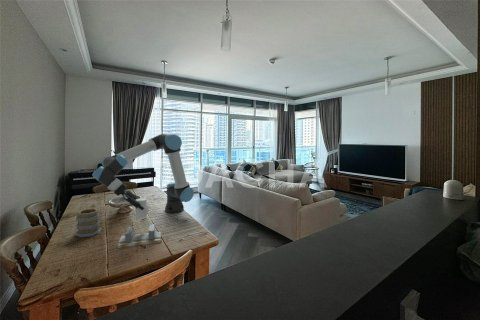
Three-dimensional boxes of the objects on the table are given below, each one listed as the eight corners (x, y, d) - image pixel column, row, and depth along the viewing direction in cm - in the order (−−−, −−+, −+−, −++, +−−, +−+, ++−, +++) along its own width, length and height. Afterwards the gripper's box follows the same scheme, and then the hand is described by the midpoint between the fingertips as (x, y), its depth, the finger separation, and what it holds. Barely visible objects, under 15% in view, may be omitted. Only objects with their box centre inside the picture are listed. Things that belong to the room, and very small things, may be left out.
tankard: (97, 235, 134) (96, 212, 133) (72, 238, 131) (71, 213, 129) (106, 223, 153) (105, 202, 152) (85, 225, 150) (84, 204, 148)
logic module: (147, 214, 144) (146, 198, 143) (146, 217, 139) (145, 200, 138) (136, 215, 142) (136, 198, 141) (136, 218, 137) (135, 201, 136)
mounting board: (161, 233, 139) (160, 230, 138) (160, 242, 127) (160, 238, 127) (121, 238, 131) (121, 235, 131) (118, 247, 120) (117, 244, 120)
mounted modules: (154, 231, 136) (154, 224, 136) (154, 238, 127) (154, 230, 126) (128, 235, 131) (127, 226, 131) (125, 242, 122) (125, 233, 121)
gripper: (116, 188, 142) (144, 210, 149) (109, 195, 125) (142, 220, 133) (124, 180, 144) (152, 202, 151) (119, 185, 127) (151, 210, 134)
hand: (147, 210), depth 142 cm, fingers closed on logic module, 5 cm apart
